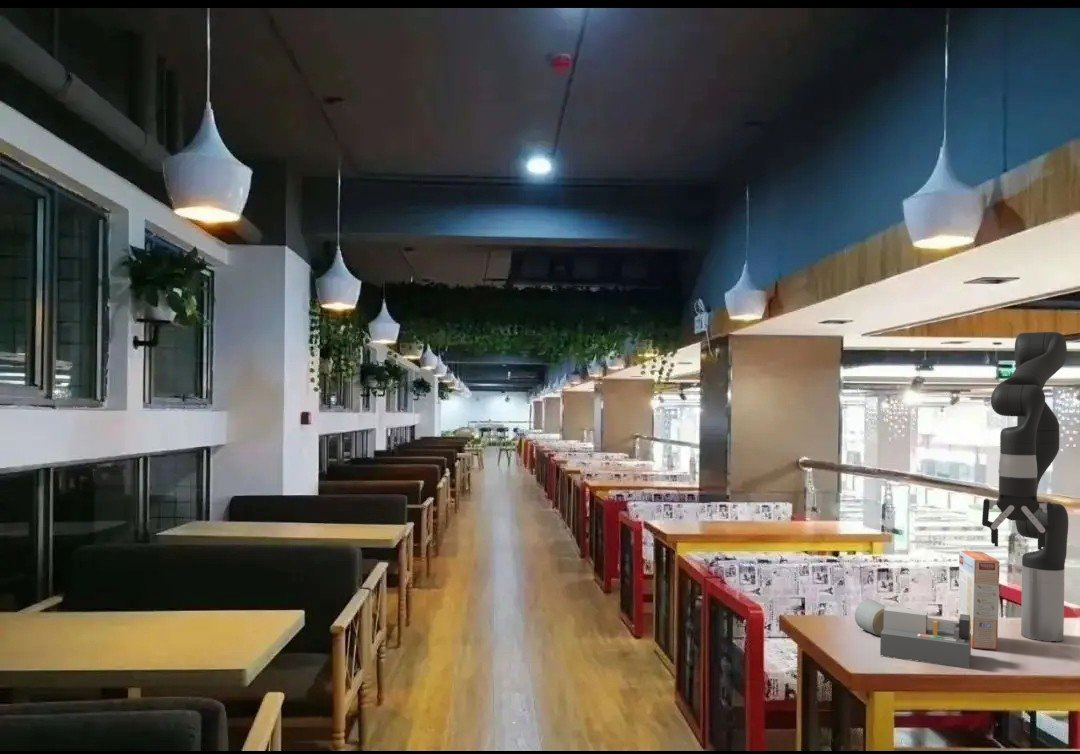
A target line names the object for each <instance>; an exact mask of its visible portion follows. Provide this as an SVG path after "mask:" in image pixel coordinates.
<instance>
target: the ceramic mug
mask: <svg viewBox="0 0 1080 754" xmlns="http://www.w3.org/2000/svg"><path fill="white" fill-rule="evenodd" d="M885 607H886V606H885V605H883V604H882V603H879V602H878V601H876V600H874V599H870V598H868V599H864V600H862V601H860V602H859V603H858V605H857V606H856V608H855V611H854V621H855V623H856V625H857V626H858V627H859V628H861V629H862V630H864V631H866V632H869V633H871V634H873V635H875V636H877V635H878V637H881V632H882V630H883V626H884V609H885Z"/></svg>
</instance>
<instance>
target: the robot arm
mask: <svg viewBox="0 0 1080 754" xmlns="http://www.w3.org/2000/svg"><path fill="white" fill-rule="evenodd" d="M1067 354H1068V347H1067V341H1066V338H1065V336H1064V335H1063V334H1062V333H1060V332H1056V331H1038V332H1037V331H1036V332H1035V331H1034V332H1022V333H1020V332H1019V334H1018V335H1017V336H1016V338H1015V342H1014V362H1015V363H1014V364H1015V365H1014V366H1015V370H1014V371H1013V373H1012V375H1011V376H1010V377H1008V378H1006V379H1005V380H1004V381H1001V382H1000V383H998V385H996V387H994V389H993V390H992V394H991V397H990V405H991V408H992V410H993V412H995V413H996V414H998V415H999V416H1002V417H1017V419H1016V420H1017V423H1016V426H1009V427H1004V428H1003V429H1001V431H1000V434H999V435H1000V438H999V451H1000V452H999V462H998V498H997V500H996V499H989V498H984V499H983V502H982V503H983V506H982V519H981V524H982V526H984V527H987V528H989V529H990V543H991V544H993V545H994V547H996V548H997V547H999V529H998V527H999V526H1000V525H1001V524H1002V523H1003V522H1004V521H1005V520H1006V519H1008V520H1009V521H1015V522H1014V523H1015V527H1016V531H1017V533H1018V534H1019V535H1020V536H1021V537H1024V538H1029V539H1035V540H1037V550H1035V551H1030V552H1029V551H1028V552H1024V554H1023V555H1022V556H1021V557H1022V558H1021V608H1020V609H1021V616H1020V617H1021V619H1020V620H1021V622H1020V623H1021V624H1020V625H1021V628H1020V635H1021V636H1023V637H1024V636H1025V638H1028V639H1031V638H1032V640H1035V639H1037V640H1036V641H1041V640H1044V641H1043V642H1051V641H1056V642H1061V641H1062V642H1063V641H1064V636H1065V634H1064V632H1065V631H1064V629H1065V627H1064V626H1065V570H1066V569H1065V564H1066V563H1065V562H1066V559H1067V551H1068V550H1067V549H1068V548H1067V547H1068V546H1067V545H1068V534H1069V515H1068V514H1069V513H1068V511H1067V509H1066V507H1065V506H1064V505H1062V504H1060V503H1055V502H1051V501H1048V502H1046V501H1038V490H1039V489H1038V488H1039V484H1040V481H1041V479H1042V478H1043V476H1044V474H1045V473H1046V471H1047V470H1048V468H1049V467H1050V466H1051V464H1052V463H1053V462H1054V460H1055V459H1056V457H1057V455H1058V453H1059V451H1060V422H1059V420H1058V418H1057V416H1056V414H1055V413H1054V412H1053V410H1052V409H1051V407H1050V406H1049V405H1048V403H1047V402H1046V394H1045V392H1044V390H1043V389H1044V387H1045V385H1046V383H1047V381H1048V380H1049V379H1051V377H1052V376H1054V375H1055V374H1056V373H1057V372H1059V371H1060V369H1062V368H1063V366H1064V364H1065V363H1066V361H1067ZM995 506H996V507H997V508H998V509H999V511H1000V514H999V515H998V516H997V517H996V518H995V520H993V522H992V521H990V520H989V516H990V510H992V509H994V507H995Z"/></svg>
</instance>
